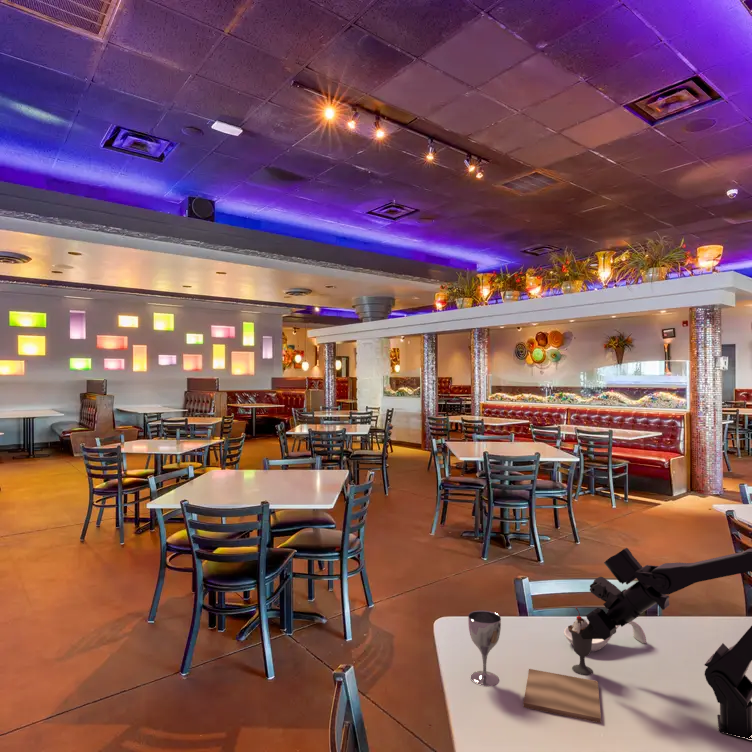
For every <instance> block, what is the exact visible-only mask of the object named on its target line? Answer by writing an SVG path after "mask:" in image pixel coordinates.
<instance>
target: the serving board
mask: <svg viewBox="0 0 752 752" xmlns="http://www.w3.org/2000/svg"><path fill="white" fill-rule="evenodd" d="M524 692H525V693H524V698H523V706H522V707H523V708H525V709H530V710H535V711H539V712H540V711H541V712H545V713H551V714H554V715H560V716H563V717H564V716H565V717H569V718H574V719H579V720H583V721H589V722H593V723H598V724H601V723H602V717H601V715H602V714H601V704H600V692H599V681H597V680H594V679H589V678H588V679H587V678H581V677H576V676H571V675H565V674H561V673H554V672H550V671H543V670H539V669H538V670H537V669H532V668H528V675H527V679H526V687H525V690H524Z"/></svg>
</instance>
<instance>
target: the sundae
mask: <svg viewBox="0 0 752 752" xmlns="http://www.w3.org/2000/svg"><path fill="white" fill-rule="evenodd" d="M575 609H576V611H577V612H578V615H577V616H576V619H575V621H574V622H573V624H571V625H568V626H567V627H568V630H569V632H570V633H571V635H572V641H573V644H572V645H573V651H574V652H575V654H577V655H578V656H579V663H578V664H575V665H573V666H572V668H571V669H572V671H574V673H576V674H578V675H581V676H582V675H583V676H590V675H592V674H593V673H594V670H593V669H592V668H591V667H589V666H587V665H586V660H585V659H586V657H587V656H589V655H590V654H591V652H592V651H591V647H592V639H583V638H582V637H581V634H582V633H583V631H584V630H585V629H586V627H587V626H588V623H587V622H588V621H587V620H586V619H584V618H582V616H581V614H580V611H579V609H578V607H575Z"/></svg>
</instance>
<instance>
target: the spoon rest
mask: <svg viewBox="0 0 752 752" xmlns="http://www.w3.org/2000/svg"><path fill="white" fill-rule="evenodd" d="M586 622H587V623H588V624H589V621H586ZM627 625H631V626H632V630H633V631H632V632H633V634H632V635H633V637H634V639H635V640H637V641H638V642H640V643H642V644H646V643H647V637H646V634H645V632H644V630H643V628H642V627H641V625H640V624H639V623H637V622H636V621H634V620H633V621H631V622H629V623H627ZM619 627H621V625H618V626H616V630H618V628H619ZM563 634H564V636H565V638H566V640H568V642H569V643H570V644H571V645H573V641H572V635H571V633H570V632H569V630H568V626H566V628H564V630H563ZM612 637H613V635H612V636H610V637H609V638H607V639H606V640H603V639H592V647H591V652H597V651H599V650H602V649H603V648H604V647H605V646H606V645H607V644H608V642H609V641H610V640H611V638H612Z"/></svg>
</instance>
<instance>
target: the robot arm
mask: <svg viewBox="0 0 752 752" xmlns="http://www.w3.org/2000/svg"><path fill="white" fill-rule="evenodd" d="M603 564H604V565H605V566H606V568H607V569H608V570H609V572H610V573H612V575H613V576H614V578H615V579H617V581H618V583H619V584H622V585H623V584H626V585H629V584H630V583H632V582H634V581H635V580H637V581H636V582H635V583H633V584H632V585H631V586H630V587H628V588H627V589H626V588H624V589H623V590H621V589H619V588H618V587H617V586H616V585H615V584H614V583H612V582H611V581H609V580H608V579H606V578H605V577H603V576H599V577H597V578H595V579H594V580H593V582H592V583H591V584H589V592H591V594H592V595H594V596H595V597H597V598H598V599H600V600H601V601H602V602H604V603H602V605H603V606H604V607H605V609H607V613H606V611H605V610H604V609H602V608H599V607H597V608H595V609H593V610H592V611H590V612H588V613H587V614H586V619H587V622H589V624H588V626H587V627H586V629H585V630H584V631H583V633H582V634H581V637H582V638H583V639H603V640H606V639H607V638H609V637H610V636H612V637H613V635H615V634H616V633H617V629H616V626H618V625H620V627H621V628H622V627H624V626H625V625H628V623H629V622H631V621H634V620H636V619H637V618H639V616H640V615H641V614H642V613H645V612H646V611H647V610H649V609H650V608H652V607H653V606H655V605H656V604H657V605H658V606H659V608H660V609H661V610H662V611H665V610H666V609H667V608H668V607H670V606H671V603H670V600H669V599H670V595H671V594H673V593H676V592H679V591H680V590H683V589H685V588H687V587H689V586H691V585H694V584H696V583H700V582H705V581H709V580H716V579H720V578H726V577H729V576H730V577H731V576H735V575H739V574H744V573H752V548H748V549H746V550H744V551H743V550H742V551H740V552H735V553H730V554H727V555H722V556H718V557H713V558H709V559H705V560H700V561H695V562H666V563H665V562H664V563H662V564H660V565H651V564H650V565H649V564H646V565H643V566H642V564H641V563H639V561H638V560H637V559H636V558H635V557H634V555H633V553H632V552H631V551H630V550H629V548H628V547H626V548H623V549H622V550H620V551H619V552H617V553H616V554H615V555H612V556H610V557H608V559H606V560H605V561H604V562H603ZM751 662H752V625H751V626H750V627H749V628H748V629H747V630H746V631H745V632H744V634H743V635H742V636H741V637H740V639H738V640H737V642H736V643H735V644H734V645H732V646H730V647H727V645H725V644H724V642H723V643H722V644H720V646H719V647H718V648H717V649H716V650H715V652H714V653H713V654H712V655H711V656H710V657H709V658H708V659H707V661H706V662H705V663H704V664H703V665H704V666H705V667H706V669H705V671H704V678H705V679H706V680H705V681H706V682H707V684H708V685H709V686H710V688H711V689H712V691H713V694H714V696H715V698H716V702H717V703H718V704H719V714H717V715H716V716H717V726H718V727H719V728H718V727H717V728H718V732H719V731H720V732H719V733H721V732H724V733H728V734H732V735H736V736H740V737H745V738H748V739H752V738H751V737H750V736H751V735H752V700H751V699H752V681H751V679H749V677H748V676H747V675H746V673H747V671H748V670H749V667H750V665H751ZM724 733H723V734H724ZM728 734H727V735H728ZM749 737H750V738H749Z"/></svg>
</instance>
